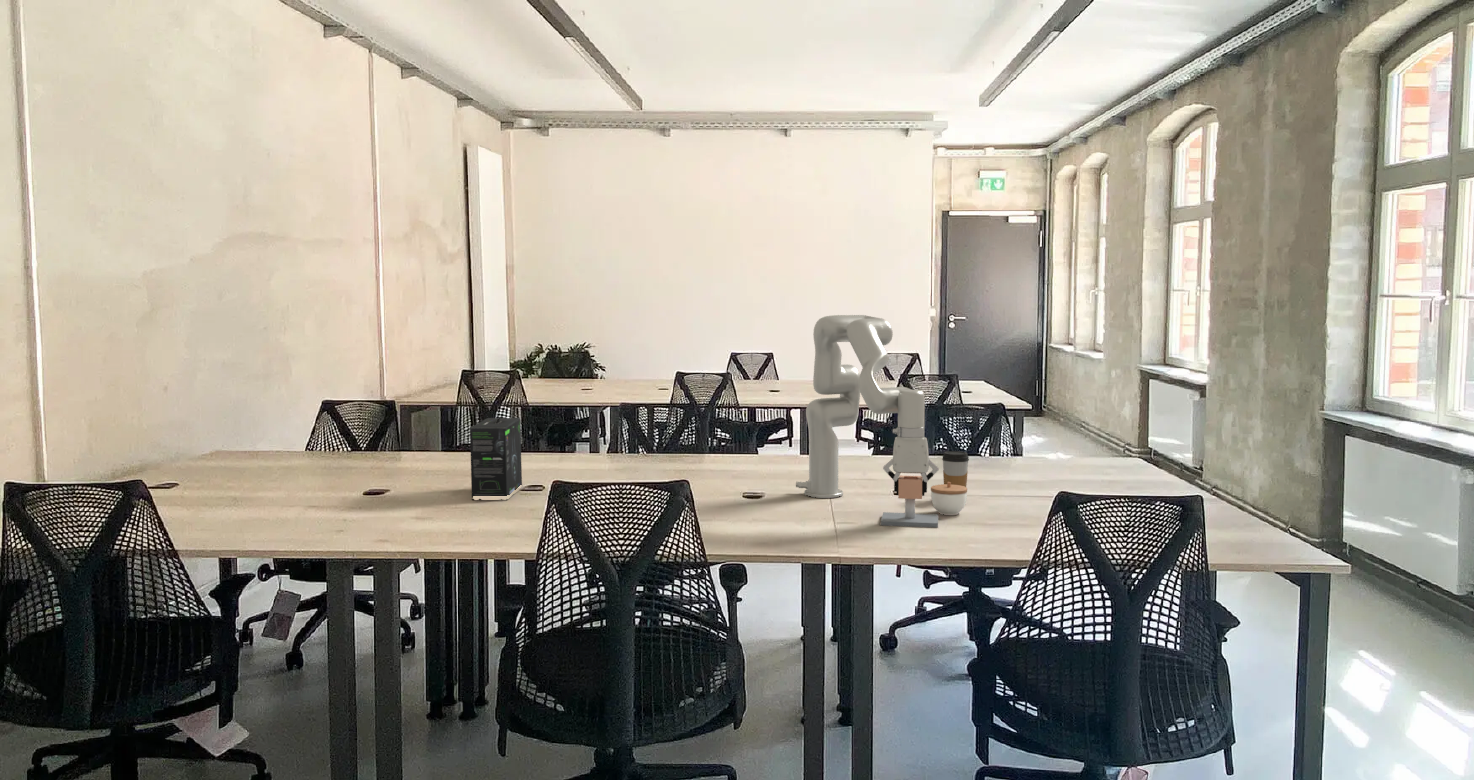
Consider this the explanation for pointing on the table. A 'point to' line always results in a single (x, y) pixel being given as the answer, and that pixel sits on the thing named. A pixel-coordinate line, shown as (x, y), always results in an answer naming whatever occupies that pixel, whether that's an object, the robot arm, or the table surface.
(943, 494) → the lidded jar
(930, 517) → the board
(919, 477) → the collar
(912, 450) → the robot arm
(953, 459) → the coffee cup
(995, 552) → the table surface
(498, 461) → the headset box
